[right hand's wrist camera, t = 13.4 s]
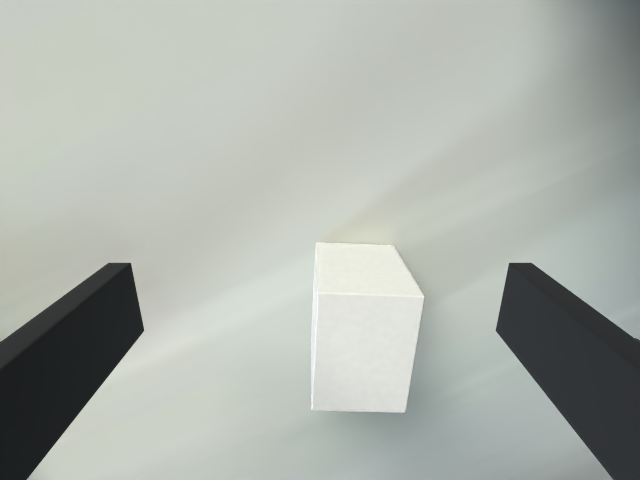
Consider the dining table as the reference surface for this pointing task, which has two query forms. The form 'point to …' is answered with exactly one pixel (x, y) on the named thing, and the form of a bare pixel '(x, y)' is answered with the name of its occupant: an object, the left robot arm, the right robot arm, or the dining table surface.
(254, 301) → the dining table surface
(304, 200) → the dining table surface
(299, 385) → the dining table surface
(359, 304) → the brick
